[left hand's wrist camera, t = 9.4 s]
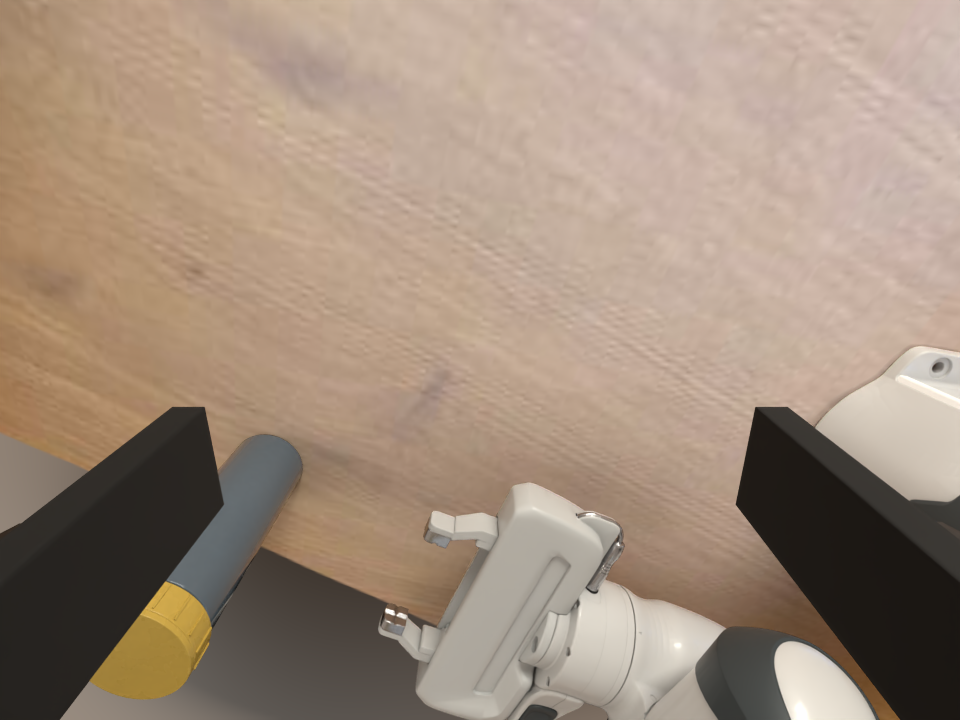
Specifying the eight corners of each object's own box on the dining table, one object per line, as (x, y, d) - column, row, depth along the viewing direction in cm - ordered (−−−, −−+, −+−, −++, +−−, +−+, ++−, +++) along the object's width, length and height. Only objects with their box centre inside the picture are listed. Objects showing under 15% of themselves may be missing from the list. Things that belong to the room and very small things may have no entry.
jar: (315, 460, 42) (211, 643, 26) (280, 504, 44) (159, 704, 27) (257, 421, 41) (108, 588, 25) (222, 468, 43) (60, 655, 26)
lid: (233, 615, 28) (213, 650, 25) (179, 678, 29) (156, 717, 27) (129, 557, 26) (100, 590, 24) (78, 627, 28) (47, 663, 26)
